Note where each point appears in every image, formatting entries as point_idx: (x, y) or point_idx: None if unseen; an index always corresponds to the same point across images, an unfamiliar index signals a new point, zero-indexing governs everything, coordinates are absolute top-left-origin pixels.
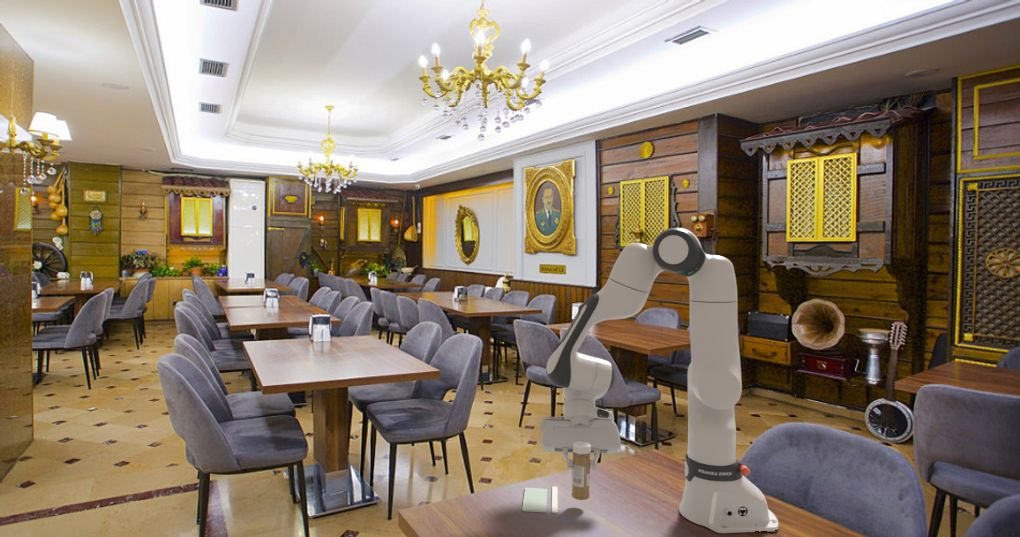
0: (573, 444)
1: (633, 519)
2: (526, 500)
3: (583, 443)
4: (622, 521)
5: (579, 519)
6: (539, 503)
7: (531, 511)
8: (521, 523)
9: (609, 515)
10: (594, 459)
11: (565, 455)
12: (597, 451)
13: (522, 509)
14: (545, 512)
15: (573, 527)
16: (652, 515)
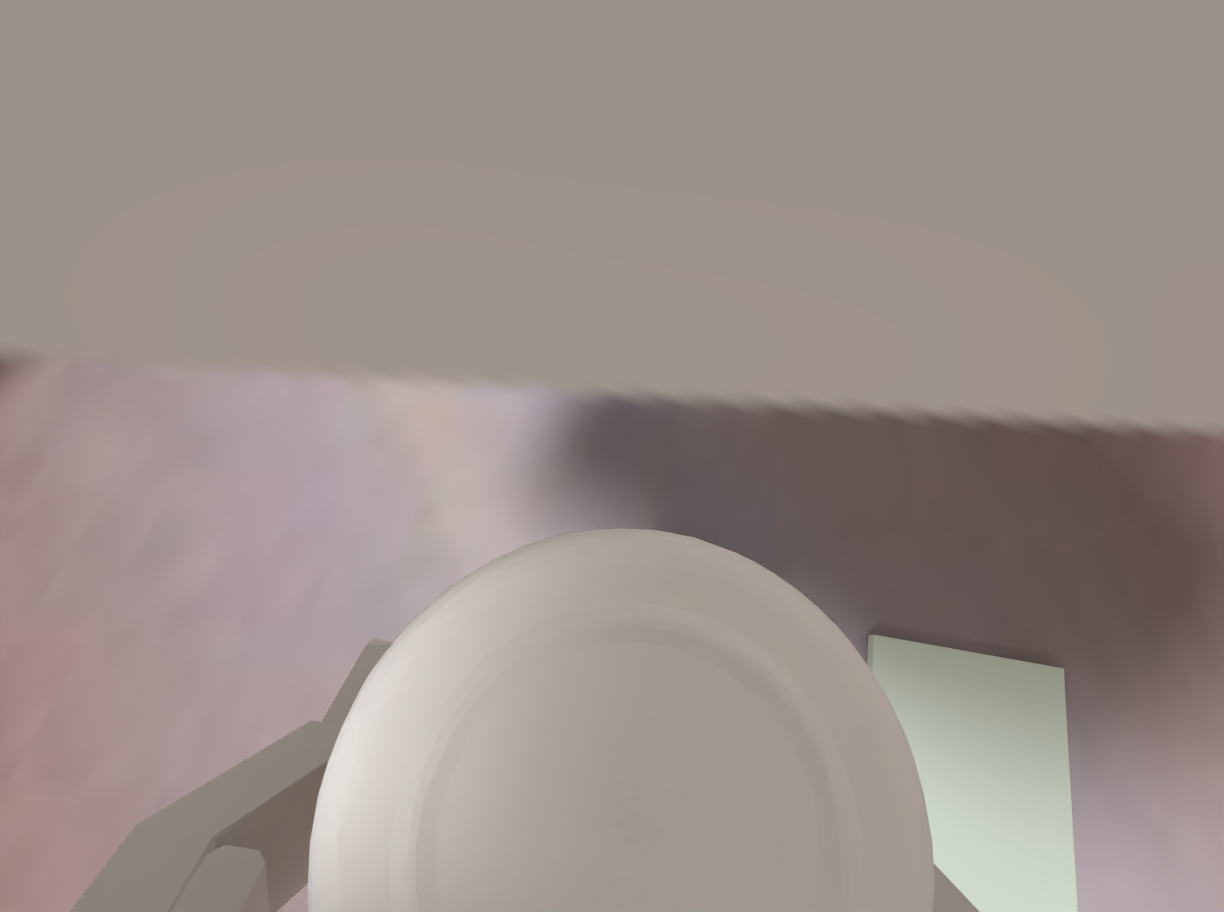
0: (921, 829)
1: (222, 494)
2: (1046, 852)
3: (554, 903)
4: (321, 470)
5: (631, 516)
6: (931, 781)
7: (983, 655)
8: (1037, 483)
9: (383, 567)
10: (338, 733)
11: (943, 895)
12: (154, 881)
13: (1061, 668)
14: (875, 636)
15: (693, 411)
16: (31, 549)
